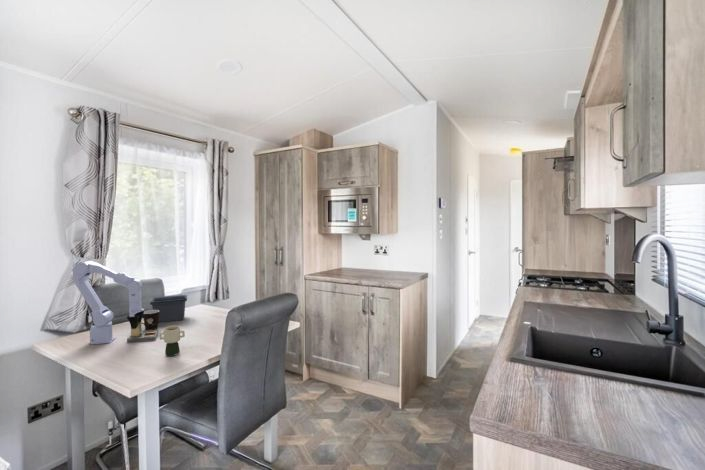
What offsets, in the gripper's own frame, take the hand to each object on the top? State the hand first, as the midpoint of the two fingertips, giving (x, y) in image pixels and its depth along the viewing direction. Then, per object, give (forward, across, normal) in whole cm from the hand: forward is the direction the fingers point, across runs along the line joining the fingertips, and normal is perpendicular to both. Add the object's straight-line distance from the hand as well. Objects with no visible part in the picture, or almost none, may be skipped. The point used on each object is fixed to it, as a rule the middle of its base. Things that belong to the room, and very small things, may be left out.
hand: (136, 326), depth 191 cm
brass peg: (+7, 0, 0) cm, 7 cm away
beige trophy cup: (+7, -29, -23) cm, 37 cm away
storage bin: (+7, +36, -10) cm, 38 cm away
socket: (+7, 0, -3) cm, 8 cm away
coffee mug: (+7, +19, -2) cm, 20 cm away
